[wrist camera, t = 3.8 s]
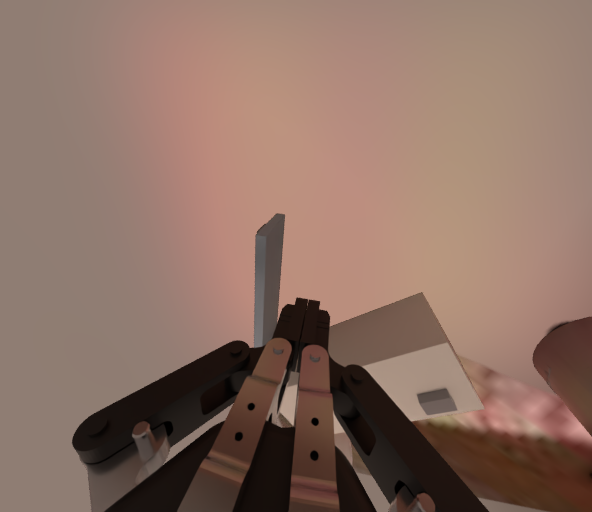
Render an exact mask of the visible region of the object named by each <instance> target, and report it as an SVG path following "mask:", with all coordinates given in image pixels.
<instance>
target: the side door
mask: <svg viewBox="0 0 592 512" xmlns="http://www.w3.org/2000/svg"><path fill="white" fill-rule="evenodd" d="M284 219H285V215H284V214H276V215H275V216H274V217H273V218H272V219H271V220H270V221H269V222H268V223H267V224H264V225H263V226H262V227H261V228H260V229H259V230H258V231H257V234H256V247H255V315H254V348H255V347H262V346H264V345H266V344H267V342H268V341H270V340H271V339H272V337H273V334H274V331H275V328H276V325H277V317H278V303H279V302H278V301H279V289H280V275H281V262H282V261H281V260H282V248H283V234H284V221H285V220H284Z"/></svg>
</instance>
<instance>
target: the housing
mask: <svg viewBox="0 0 592 512" xmlns="http://www.w3.org/2000/svg"><path fill="white" fill-rule="evenodd" d="M328 352H329V355H330V357H331V358H332V359H333V360H334V361H335V362H337V363H338V364H340V365H342V366H344V367H346V366H347V365H350V364H355V365H359V366H361V367H363V368H364V369H366V370H367V371H368V373H369V374H370V375H371V376H372V377H373V378H374V379H375V381H376V382H377V383H378V384H379V385H380V386H381V388H382V389H383V390H384V391H385V392H386V393H387V394H388V396H389V397H390V398H391V399H392V400H393V401H394V402H395V404H396V405H397V406H398V407H399V408H400V409H401V411H402V412H403V413H404V414H405V415H406V416H407V417H408V419H409V420H410V421H416V420H422V419H428V418H434V417H440V416H446V415H452V414H458V413H464V412H470V411H476V410H482V409H485V408H484V406H483V404H482V402H481V400H480V399H479V397H478V395H477V393H476V391H475V389H474V387H473V385H472V383H471V381H470V379H469V377H468V376H467V374H466V372H465V370H464V368H463V366H462V364H461V362H460V360H459V358H458V356H457V354H456V353H455V351H454V349H453V347H452V345H451V343H450V341H449V340H448V338H447V336H446V334H445V332H444V331H443V329H442V327H441V325H440V323H439V322H438V320H437V318H436V316H435V315H434V313H433V311H432V309H431V308H430V306H429V304H428V302H427V300H426V298H425V297H424V295H423V293H422V292H421V293H419V294H416V295H413V296H411V297H408V298H405V299H403V300H400V301H397V302H395V303H392V304H389V305H387V306H384V307H381V308H378V309H376V310H373V311H370V312H368V313H365V314H363V315H360V316H357V317H355V318H352V319H349V320H346V321H344V322H341V323H338V324H336V325H333V326H331V327H329V343H328ZM298 356H299V355H298ZM297 363H298V360H297ZM296 371H297V365H296V370H295V372H293V371H291V375H290V379H289V381H288V386H287V389H286V392H285V396H284V399H283V402H282V406H281V409H280V412H281V413H282V414H283V416H284V417H285V418H286V419H287V420H288V421H289V422H290V423H291V424H292V425H293V426H294V416H295V406H296V396H297V386H298V379H299V373H298V372H296ZM333 418H334V434H337V433H343V432H345V431H344V430H343V428H342V426H341V425H340V423H339V422H338V420H337V418H336V417H335V415H334V411H333Z"/></svg>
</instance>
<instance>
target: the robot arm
mask: <svg viewBox="0 0 592 512" xmlns="http://www.w3.org/2000/svg"><path fill="white" fill-rule="evenodd" d="M307 303H308V306H307ZM319 305H320V301H315V300H309V302H308V299H302V298H296V302H295V305H291V304H287V305H286V306H285V307H284V308H283V309H282V311H281V314H280V317H279V320H278V323H277V325H276V328H275V331H274V334H273V337H272V339H271V340H270V341H268V342H267V344H266V345H264V346H262V347H255V348H249V346H248V344H247V343H245V342H243V341H232V342H230V343H228V344H226V345H224V346H222V347H220V348H218V349H216V350H215V351H212V352H210V353H209V354H207V355H205V356H203V357H201V358H199V359H197V360H195V361H194V362H191V363H190V364H188V365H186V366H184V367H182V368H180V369H178V370H176V371H174V372H173V373H170V374H168V375H167V376H165V377H163V378H161V379H159V380H157V381H155V382H153V383H151V384H149V385H147V386H146V387H144V388H142V389H140V390H138V391H136V392H134V393H132V394H130V395H129V396H127V397H125V398H123V399H121V400H119V401H117V402H115V403H113V404H111V405H109V406H107V407H105V408H104V409H102V410H100V411H98V412H96V413H94V414H93V415H91V416H90V417H88V418H87V419H86V420H85V421H84V422H83V423H82V424H81V425H80V426H79V427H78V429H77V430H76V432H75V434H74V436H73V440H72V444H73V447H74V448H75V450H76V451H77V453H78V454H79V457H80V460H81V462H82V463H83V465H84V466H85V468H86V469H87V471H88V480H89V490H90V500H91V510H92V512H377V511H376V509H375V508H374V506H373V504H372V502H371V500H370V498H369V497H368V495H367V493H366V491H365V489H364V487H363V485H362V484H361V482H360V480H359V478H358V476H357V474H356V473H355V471H354V469H353V467H352V465H351V464H350V462H349V460H348V459H347V458H346V456H345V455H344V454H343V453H342V451H341V450H340V449H339V448H338V447H336V446H335V441H334V418H333V411H334V415H335V417H336V418H337V420H338V422H339V423H340V425H341V426H342V428H343V430H344V431H345V433H346V434H347V436H348V438H349V439H350V441H351V442H352V444H353V446H354V447H355V449H356V450H357V452H358V454H359V455H360V457H361V458H362V460H363V462H364V463H365V465H366V467H367V468H368V470H369V471H370V473H371V475H372V476H373V478H374V479H375V481H376V483H377V484H378V486H379V487H380V489H381V491H382V492H383V494H384V495H385V497H386V499H387V500H388V502H389V503H390V507H389V511H388V512H489V511H488V510H487V509H486V508H485V506H484V505H483V504H482V503H481V502H480V501H479V499H478V498H477V497H476V496H475V495H474V494H473V492H472V491H471V490H470V489H469V488H468V487H467V486H466V484H465V483H464V482H463V481H462V480H461V479H460V477H459V476H458V475H457V474H456V473H455V472H454V471H453V469H452V468H451V467H450V466H449V465H448V464H447V462H446V461H445V460H444V459H443V458H442V457H441V456H440V454H439V453H438V452H437V451H436V450H435V449H434V447H433V446H432V445H431V444H430V443H429V442H428V441H427V439H426V438H425V437H424V436H423V435H422V434H421V432H420V431H419V430H418V429H417V428H416V427H415V426H414V424H413V423H412V422H411V421H410V420H409V419H408V417H407V416H406V415H405V414H404V413H403V412H402V411H401V409H400V408H399V407H398V406H397V405H396V404H395V402H394V401H393V400H392V399H391V398H390V397H389V396H388V394H387V393H386V392H385V391H384V390H383V389H382V388H381V386H380V385H379V384H378V383H377V382H376V381H375V379H374V378H373V377H372V376H371V375H370V374H369V373H368V371H367V370H366V369H364V368H363V367H361V366H359V365H355V364H350V365H347V366H346V367H344V366H342V365H340V364H338V363H337V362H335V361H334V360H333V359H332V358H331V357H330V355H329V352H328V343H329V327H330V326H329V325H330V316H329V314H328V312H327V311H324V310H319ZM298 355H299V356H298ZM297 360H298V363H297ZM533 363H534V367H535V368H536V369H537V371H538V373H539V374H540V375H541V376H542V377H543V378H544V380H545V381H546V382H547V384H548V385H549V386H550V388H551V389H552V390H553V391H554V392H555V393H556V394H557V395H558V396H559V398H560V399H561V400H562V401H563V402H564V404H565V405H566V406H567V407H568V408H569V410H570V411H571V412H572V413H573V415H574V416H575V417H576V418H577V419H578V420H579V422H580V423H581V424H582V425H583V426H584V428H585V429H586V430H587V431H588V432H589V434H590V435H591V436H592V317H587V318H583V319H579V320H575V321H573V322H570V323H567V324H565V325H562V326H561V327H559V328H557V329H555V330H553V331H552V332H550V333H549V334H548V335H547V336H545V337H544V338H543V339H542V340H541V341H540V343H539V344H538V345H537V347H536V349H535V351H534V353H533ZM296 365H297V371H296V372H298V373H299V379H298V386H297V396H296V406H295V416H294V426H293V427H289V428H281V427H279V426H277V425H276V423H277V419H278V416H279V412H280V409H281V406H282V402H283V399H284V396H285V392H286V389H287V386H288V381H289V379H290V375H291V371H293V372H295V370H296ZM233 403H234V404H233ZM231 404H233V406H232V408H231V410H230V412H229V414H228V416H227V418H226V420H225V421H223V422H221V423H218V424H217V425H215V426H213V427H212V428H210V429H209V430H208V431H206V432H205V433H204V434H202V435H201V436H200V437H199V438H197V439H196V440H195V441H194V442H192V443H191V444H190V445H188V446H187V447H186V448H184V449H183V450H182V451H181V452H179V453H178V454H177V455H176V456H174V457H173V458H172V459H170V460H169V461H168V462H167V463H165V464H164V462H165V461H166V459H167V457H168V455H169V452H170V448H171V447H172V446H173V445H175V444H176V443H178V442H179V441H180V440H182V439H183V438H184V437H186V436H188V435H189V434H190V433H192V432H193V431H195V430H196V429H197V428H199V427H200V426H202V425H203V424H205V423H206V422H207V421H209V420H210V419H212V418H213V417H214V416H216V415H217V414H219V413H220V412H221V411H223V410H224V409H226V408H227V407H228V406H230V405H231ZM163 464H164V465H163ZM162 465H163V466H162Z"/></svg>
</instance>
